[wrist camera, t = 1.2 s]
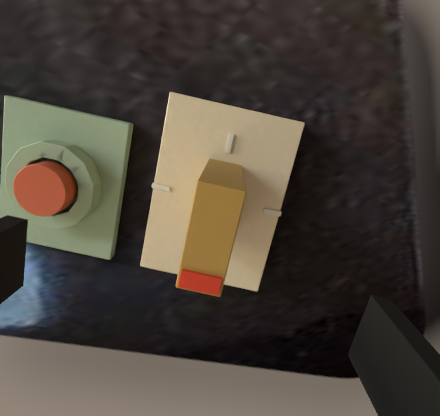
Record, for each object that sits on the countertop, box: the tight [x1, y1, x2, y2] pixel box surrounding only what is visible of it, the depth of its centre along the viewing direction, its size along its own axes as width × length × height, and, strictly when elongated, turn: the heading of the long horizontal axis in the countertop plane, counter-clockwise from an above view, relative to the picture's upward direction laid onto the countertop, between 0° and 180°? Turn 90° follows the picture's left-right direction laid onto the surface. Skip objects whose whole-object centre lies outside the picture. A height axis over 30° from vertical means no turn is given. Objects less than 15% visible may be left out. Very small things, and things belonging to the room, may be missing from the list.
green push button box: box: [0, 96, 134, 260], centre depth 28 cm, size 12×10×3 cm
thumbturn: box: [176, 158, 247, 297], centre depth 21 cm, size 6×2×9 cm, turn 168°
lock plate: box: [140, 92, 305, 291], centre depth 27 cm, size 14×10×3 cm
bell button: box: [13, 161, 76, 217], centre depth 26 cm, size 4×4×2 cm
